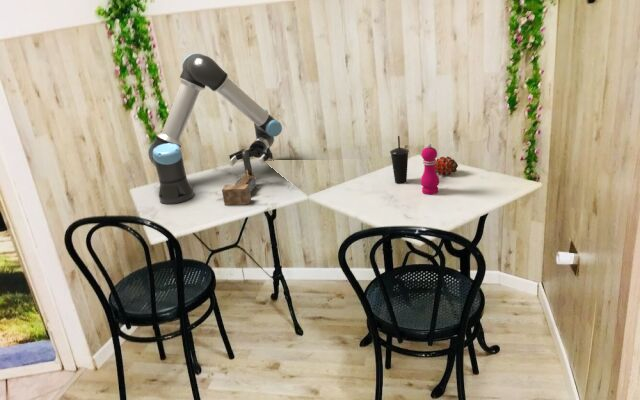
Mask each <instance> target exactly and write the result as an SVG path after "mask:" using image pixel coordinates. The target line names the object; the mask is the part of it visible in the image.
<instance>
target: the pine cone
mask: <svg viewBox="0 0 640 400" xmlns="http://www.w3.org/2000/svg"><path fill="white" fill-rule="evenodd" d="M458 167H459V164H458V163H457V162H456V160H455V159H454V158H452V157H450V156H446V157H444V156H440V157H439V158H436V163H435V171H436V173H437V174H438V175H441V176H442V177H444V176H446V175H447V176H450V175H452V174H453V173H456V172H457V171H458Z"/></svg>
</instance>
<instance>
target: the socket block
mask: <svg viewBox="0 0 640 400" xmlns="http://www.w3.org/2000/svg"><path fill="white" fill-rule="evenodd" d="M221 192H222V197H223V203H224V206H244V205H245V206H246V205H249V203H250V202H251V201H252V198H251V197H252V195H251V196H250V190H249V185H248V184H246V185H235V184H226V185H224V187H222V189H221Z"/></svg>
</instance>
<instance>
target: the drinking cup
mask: <svg viewBox="0 0 640 400" xmlns="http://www.w3.org/2000/svg"><path fill="white" fill-rule="evenodd" d="M400 141H401V139H400V135H397V147H396V148H393V149H392V150H390V151H389V154H390V157H391V164H392V170H393V177H394V178H393V179H394V183H395V184H396V185H397V184H398V185H404V184H406V183H407V180H408V162H409V159H408V158H409V153H410V150H409V149H408V148H404V147H401V142H400Z"/></svg>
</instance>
